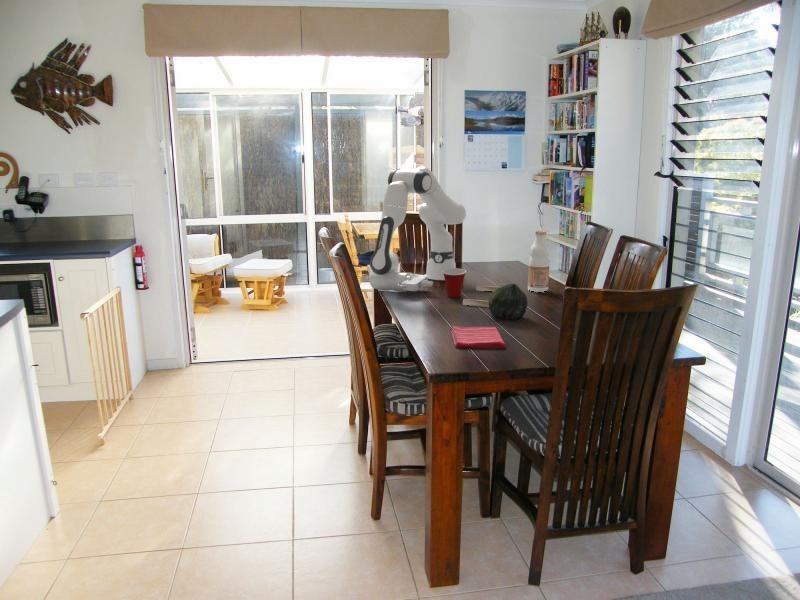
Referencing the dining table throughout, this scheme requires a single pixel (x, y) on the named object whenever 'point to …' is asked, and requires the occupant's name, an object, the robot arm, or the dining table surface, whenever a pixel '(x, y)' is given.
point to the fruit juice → (539, 264)
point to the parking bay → (480, 302)
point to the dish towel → (477, 337)
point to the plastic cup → (454, 281)
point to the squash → (508, 302)
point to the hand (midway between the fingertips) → (432, 284)
